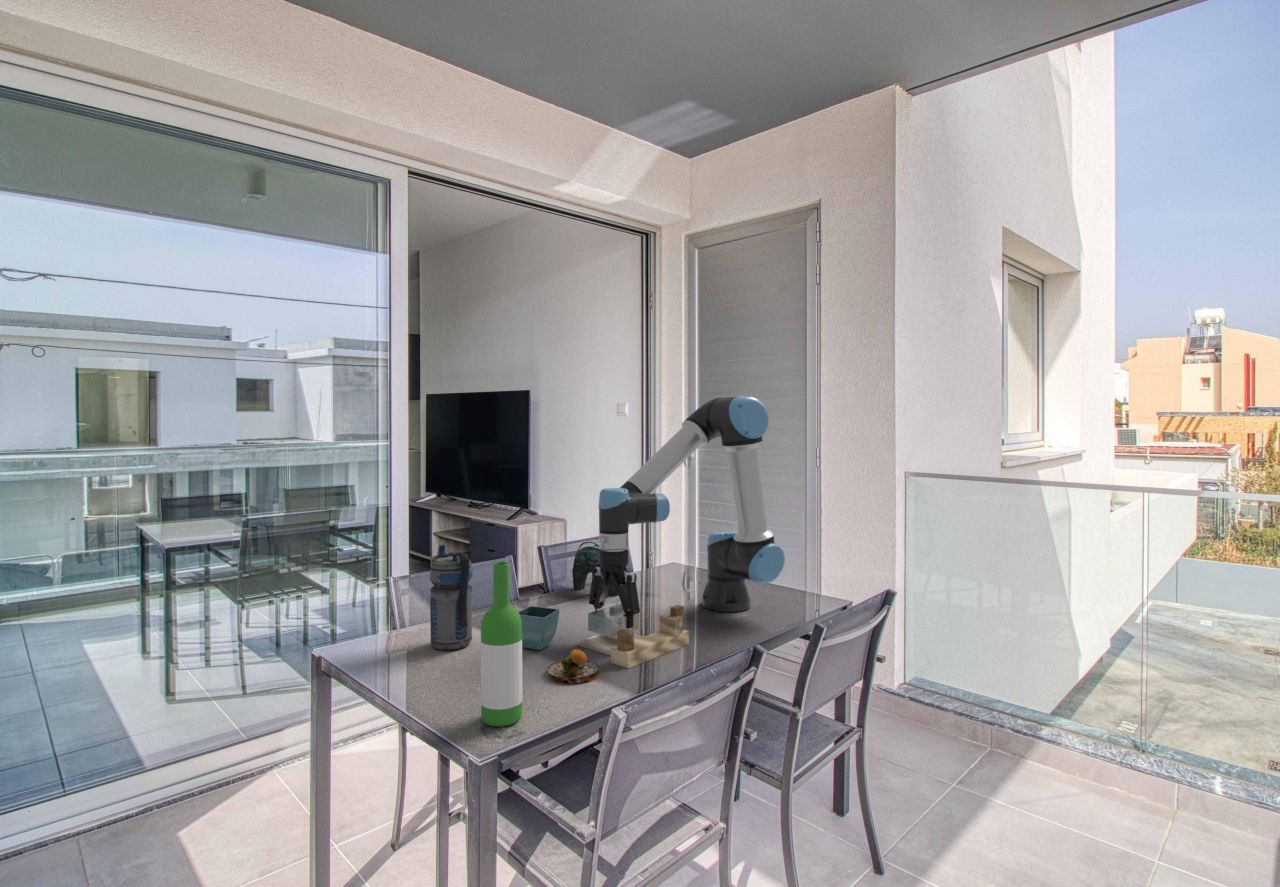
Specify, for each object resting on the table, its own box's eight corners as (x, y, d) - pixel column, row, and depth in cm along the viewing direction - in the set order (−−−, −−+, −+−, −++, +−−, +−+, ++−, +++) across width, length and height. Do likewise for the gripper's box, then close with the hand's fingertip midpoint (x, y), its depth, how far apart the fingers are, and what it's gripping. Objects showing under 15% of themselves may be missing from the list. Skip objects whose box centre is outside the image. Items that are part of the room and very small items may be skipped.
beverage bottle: (448, 657, 164) (447, 554, 163) (421, 644, 173) (421, 547, 172) (484, 647, 171) (484, 548, 170) (457, 635, 180) (457, 542, 180)
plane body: (672, 639, 178) (672, 603, 177) (689, 644, 174) (689, 607, 174) (611, 662, 160) (611, 622, 160) (628, 668, 157) (628, 627, 156)
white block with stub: (615, 622, 181) (615, 600, 181) (638, 628, 175) (639, 606, 175) (588, 630, 173) (588, 608, 173) (612, 637, 168) (612, 614, 167)
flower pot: (560, 643, 175) (560, 608, 174) (544, 654, 166) (544, 617, 166) (529, 639, 178) (529, 605, 177) (512, 650, 169) (512, 614, 169)
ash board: (615, 632, 183) (615, 628, 183) (649, 642, 176) (649, 638, 176) (577, 645, 173) (577, 641, 173) (611, 655, 165) (611, 651, 165)
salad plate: (573, 662, 161) (573, 631, 161) (610, 674, 154) (610, 641, 154) (535, 677, 152) (535, 644, 152) (572, 690, 145) (572, 655, 144)
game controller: (627, 594, 225) (627, 534, 224) (616, 598, 219) (616, 536, 219) (579, 586, 235) (579, 529, 235) (568, 590, 230) (568, 531, 229)
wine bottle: (497, 732, 124) (496, 569, 123) (472, 720, 129) (471, 563, 128) (530, 719, 130) (530, 563, 129) (505, 707, 135) (505, 557, 134)
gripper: (574, 545, 178) (574, 631, 178) (634, 556, 164) (634, 649, 164) (594, 542, 183) (595, 625, 184) (655, 552, 169) (654, 642, 170)
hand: (613, 636), depth 174 cm, fingers closed on white block with stub, 8 cm apart
